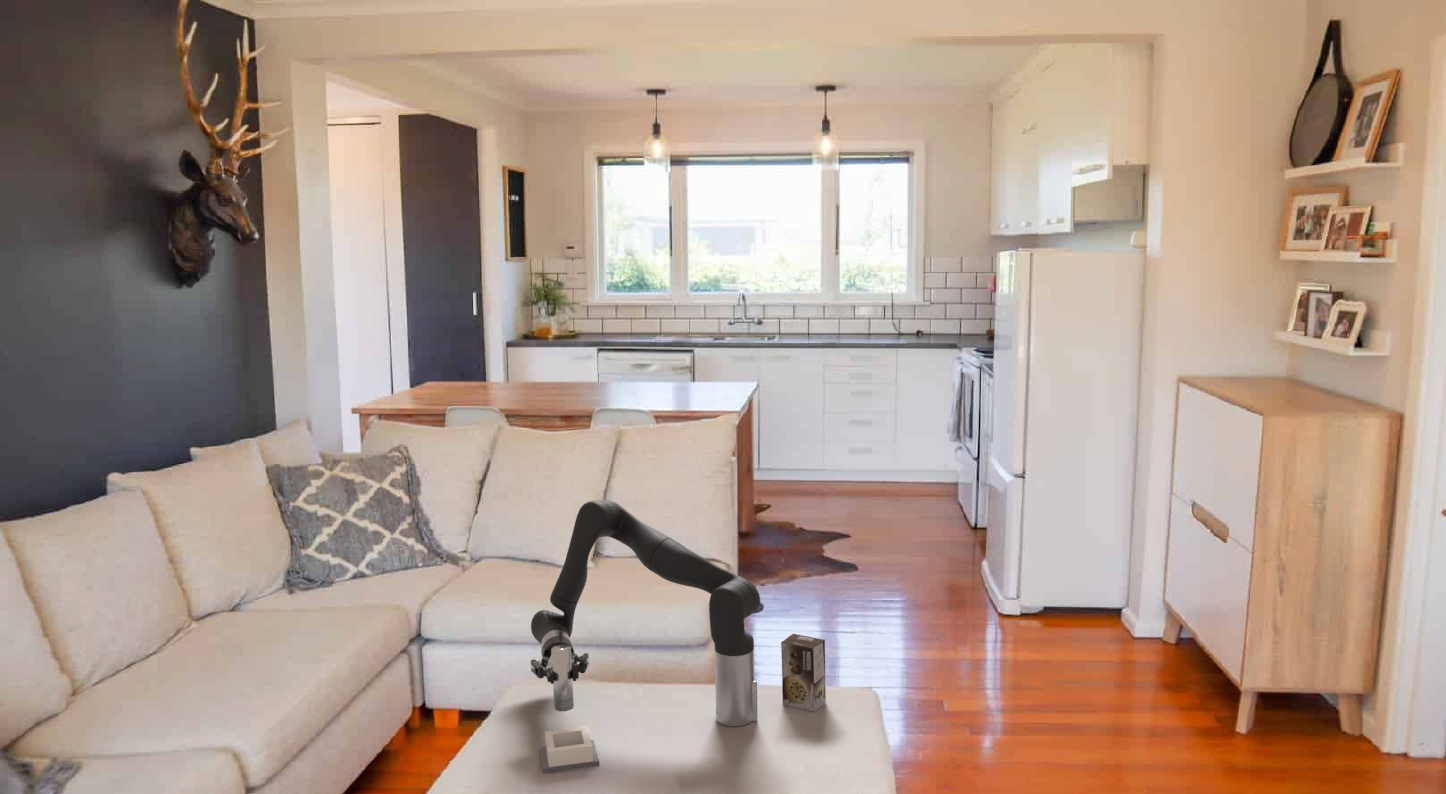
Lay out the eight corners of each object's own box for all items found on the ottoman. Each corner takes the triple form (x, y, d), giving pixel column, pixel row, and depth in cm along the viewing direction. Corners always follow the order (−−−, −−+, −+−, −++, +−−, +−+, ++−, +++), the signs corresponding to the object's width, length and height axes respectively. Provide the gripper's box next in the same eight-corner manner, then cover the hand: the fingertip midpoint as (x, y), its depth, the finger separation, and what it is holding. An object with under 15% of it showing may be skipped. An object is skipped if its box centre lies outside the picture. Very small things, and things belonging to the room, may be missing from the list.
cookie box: (826, 702, 250) (826, 639, 248) (814, 712, 245) (814, 648, 242) (793, 694, 255) (793, 632, 253) (781, 704, 250) (780, 641, 247)
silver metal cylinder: (573, 701, 237) (569, 643, 235) (574, 709, 233) (571, 650, 230) (553, 704, 236) (550, 646, 234) (555, 712, 231) (551, 653, 229)
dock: (593, 743, 231) (593, 725, 231) (599, 765, 222) (598, 745, 221) (540, 750, 229) (539, 731, 228) (543, 772, 219) (542, 753, 218)
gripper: (526, 638, 245) (530, 666, 228) (586, 631, 248) (594, 658, 231) (528, 668, 246) (532, 698, 229) (587, 661, 249) (596, 690, 232)
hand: (563, 678), depth 230 cm, fingers closed on silver metal cylinder, 4 cm apart
